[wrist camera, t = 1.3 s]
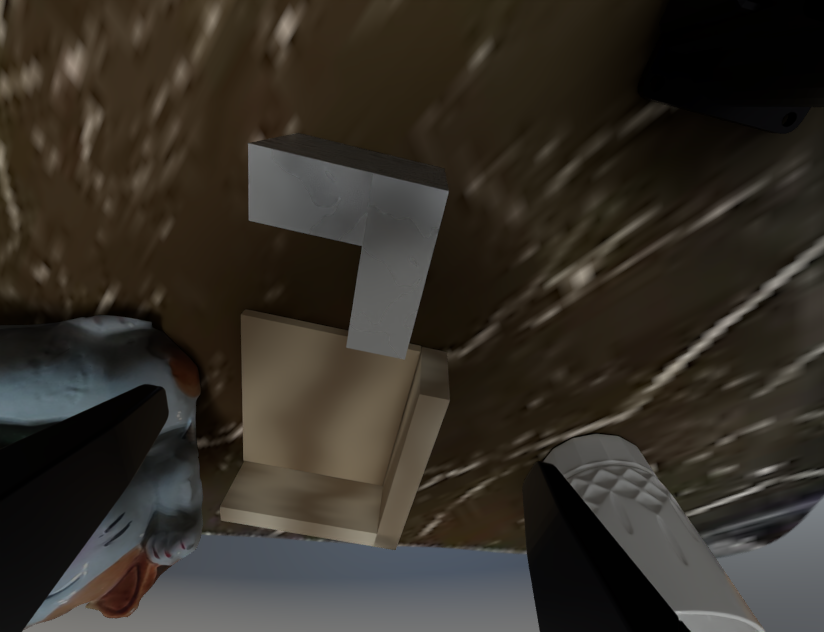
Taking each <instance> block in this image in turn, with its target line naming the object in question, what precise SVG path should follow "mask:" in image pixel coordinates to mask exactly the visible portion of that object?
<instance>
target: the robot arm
mask: <svg viewBox="0 0 824 632" xmlns="http://www.w3.org/2000/svg"><path fill="white" fill-rule="evenodd" d="M659 26H660V33H661V34H660V37H659V39H658V41H657V43H656V46H655V48H654V50H653V52H652V55H651V57H650V59H649V61H648V63H647V66H646V68H645V70H644V72H643V75H642V77H641V79H640V81H639V85H638V93H639V94H640V96H641V97H642V98H644V99H647V100H650V101H654V102H658V103H662V104H665V105H669V106H673V107H677V108H680V109H684V110H688V111H692V112H695V113H699V114H703V115H707V116H710V117H714V118H718V119H722V120H725V121H729V122H733V123H737V124H741V125H744V126H748V127H752V128H756V129H759V130H763V131H767V132H771V133H780V134H786V133H788V132H791V131H793V130H794V129H795V128H797V127H798V125H799V124H800V123H801V122H802V120H803V119H804V117H805V116H806V114H807V113H808V111H809V110H810V108H811V107H824V0H669V3H668V5H667V7H666V9H665V12H664V14H663V16H662V18H661V21H660V23H659ZM655 77H657V78H658V81H659V83H658V87H657V88H656V89H655V90H654V91H652V90H651V89H650V83H651V81H652V80H653V78H655ZM786 114H788V119H787V121H786V122H785V123H784V124H783V125H782V119H783V117H784V116H785V115H786ZM168 416H169V409H168V402H167V396H166V391H165V389H164V388H163V387H161V386H156V385H151V384H143V385H140V386H138V387H136V388H133V389H131V390H129V391H127V392H125V393H122V394H120V395H118V396H116V397H113V398H111V399H109V400H107V401H105V402H102V403H100V404H98V405H96V406H94V407H91V408H89V409H87V410H85V411H83V412H80V413H78V414H76V415H74V416H72V417H69V418H67V419H65V420H63V421H61V422H58V423H56V424H54V425H52V426H50V427H47V428H45V429H43V430H41V431H39V432H36V433H34V434H32V435H30V436H28V437H25V438H23V439H21V440H19V441H16V442H14V443H12V444H10V445H8V446H5V447H3V448H1V449H0V632H22V631H23V630H24V628H25V627H26V625H27V624H28V623H29V621H30V620H31V619H32V617H33V616H34V614H35V613H36V612H37V610H38V609H39V608H40V606H41V605H42V604H43V602H44V601H45V599H46V598H47V597H48V595H49V594H50V593H51V591H52V590H53V588H54V587H55V586H56V584H57V583H58V582H59V580H60V579H61V577H62V576H63V575H64V573H65V572H66V571H67V569H68V568H69V567H70V565H71V564H72V562H73V561H74V560H75V558H76V557H77V556H78V554H79V553H80V551H81V550H82V549H83V547H84V546H85V545H86V543H87V542H88V541H89V539H90V538H91V536H92V535H93V534H94V532H95V531H96V530H97V528H98V527H99V525H100V524H101V523H102V521H103V520H104V519H105V517H106V516H107V515H108V513H109V512H110V510H111V509H112V508H113V506H114V505H115V504H116V502H117V501H118V499H119V498H120V497H121V495H122V494H123V493H124V491H125V490H126V488H127V487H128V485H129V484H130V482H131V481H132V479H133V478H134V476H135V474H136V473H137V471H138V469H139V468H140V466H141V464H142V462H143V461H144V459H145V457H146V456H147V454H148V452H149V451H150V449H151V447H152V445H153V444H154V442H155V440H156V439H157V437H158V435H159V434H160V432H161V430H162V428H163V427H164V425H165V423H166V421H167V419H168ZM523 504H524V519H525V534H526V547H527V557H528V563H529V570H530V576H531V581H532V588H533V593H534V600H535V606H536V611H537V617H538V623H539V629H540V632H691V631H690V630H689V629H688V628H687V626H686V625H685V624H684V623H683V622H682V621H681V620H679V618H678V616H677V614H676V613H675V612H674V611H673V609H672V608H671V607H670V606H669V605H668V603H667V602H666V601H665V600H664V598H663V597H662V596H661V595H660V594H659V592H658V591H657V590H656V589H655V587H654V586H653V585H652V584H651V583H650V581H649V580H648V579H647V578H646V576H645V575H644V574H643V573H642V572H641V570H640V569H639V568H638V567H637V565H636V564H635V563H634V562H633V560H632V559H631V558H630V557H629V556H628V554H627V553H626V552H625V551H624V549H623V548H622V547H621V546H620V545H619V543H618V542H617V541H616V540H615V538H614V537H613V536H612V535H611V534H610V532H609V531H608V530H607V529H606V527H605V526H604V525H603V524H602V523H601V521H600V520H599V519H598V518H597V516H596V515H595V514H594V513H593V512H592V510H591V509H590V508H589V507H588V505H587V504H586V503H585V502H584V500H583V499H582V498H581V497H580V496H579V494H578V493H577V492H576V491H575V489H574V488H573V487H572V486H571V485H570V483H569V482H568V481H567V480H566V478H565V477H564V476H563V475H562V474H561V472H560V471H559V470H558V469H557V467H556V466H554V465H553V464H551V463H546V462H541V461H538V462H536V463H535V464H534V465H533V467H532V469H531V470H530V472H529V474H528V475H527V477H526V479H525V480H524V483H523Z"/></svg>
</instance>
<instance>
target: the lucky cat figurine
mask: <svg viewBox="0 0 824 632" xmlns="http://www.w3.org/2000/svg"><path fill="white" fill-rule="evenodd" d="M143 384H151V385H156V386H161V387H163V388H164V389H165V391H166V396H167V402H168V409H169V416H168V419H167V421H166V423H165V425H164V427H163V428H162V430H161V432H160V434H159V435H158V437H157V439H156V440H155V442H154V444H153V445H152V447H151V449H150V451H149V452H148V454H147V456H146V457H145V459H144V461H143V462H142V464H141V466H140V468H139V469H138V471H137V473H136V474H135V476H134V478H133V479H132V481H131V482H130V484H129V485H128V487H127V488H126V490H125V491H124V493H123V494H122V495H121V497H120V498H119V499H118V501H117V502H116V504H115V505H114V506H113V508H112V509H111V510H110V512H109V513H108V515H107V516H106V517H105V519H104V520H103V521H102V523H101V524H100V525H99V527H98V528H97V530H96V531H95V532H94V534H93V535H92V536H91V538H90V539H89V541H88V542H87V543H86V545H85V546H84V547H83V549H82V550H81V551H80V553H79V554H78V556H77V557H76V558H75V560H74V561H73V562H72V564H71V565H70V567H69V568H68V569H67V571H66V572H65V573H64V575H63V576H62V577H61V579H60V580H59V582H58V583H57V584H56V586H55V587H54V588H53V590H52V591H51V593H50V594H49V595H48V597H47V598H46V599H45V601H44V602H43V604H42V605H41V606H40V608H39V609H38V610H37V612H36V613H35V614H34V616H33V617H32V619H31V620H30V621H29V623H28V624H27V625H26V627H25V628H24V630H25V629H27V628H28V627H31V626H32V625H35V624H38V623H41V622H46V621H49V620H52V619H55V618H57V617H59V616H61V615H63V614H65V613H67V612H69V611H70V610H72V609H73V608H75V607H77V606H79V605H81V604H84V603H87V602H89V603H88V604H87V605H86V608H91V609H95V610H99V611H100V612H102V614H103V615H104V616H105V617H107V618H121V617H128V616H130V615H131V614H132V613H133V612H134V611H135V610H136V609H137V608H138V605H139V601H140V600H141V598H142V597H143V595H144V594H145V593H146V592H147V591H148V590H149V589H150V588H151V587H152V585H153V584H154V583H155V581H156V580H157V579H158V577H159V576H160V575H161V574H162V573H163V572H164V571H166V570H167V569H168V568H169V567H171V566H172V565H173V564H175V563H176V562H178V561H179V560H180V559H182V558H184V557H185V556H187V555H189V554H190V553H192V552H193V551H194V550H195V549H196V548H197V546H198V543H199V541H200V538H201V532H202V527H203V520H202V511H201V507H202V500H203V493H202V483H201V480H200V473H199V469H200V465H199V459H198V456H199V453H198V447H197V439H196V417H195V416H196V400H197V398H198V397H199V395H200V393H201V382H200V376H199V372H198V368H197V366H196V365H195V364H194V362H193V361H192V360H191V359H190V358H189V357H188V356H187V355H186V354H185V353H184V352H183V351H182V350H181V349H180V348H179V347H178V346H177V345H176V344H175V343H174V342H173V341H172V340H171V339H170V338H169V337H168V336H167V335H166V334H165V333H164V332H163V331H161V330H157V329H155V328H153V326H152V322H150V321H145V320H139V319H133V318H127V317H121V316H112V315H96V316H91V317H88V318H84V317H80V318H76V319H72V320H67V321H62V322H57V323H47V324H36V325H0V449H1V448H3V447H5V446H8V445H10V444H12V443H14V442H16V441H19V440H21V439H23V438H25V437H28V436H30V435H32V434H34V433H36V432H39V431H41V430H43V429H45V428H47V427H50V426H52V425H54V424H56V423H58V422H61V421H63V420H65V419H67V418H69V417H72V416H74V415H76V414H78V413H80V412H83V411H85V410H87V409H89V408H91V407H94V406H96V405H98V404H100V403H102V402H105V401H107V400H109V399H111V398H113V397H116V396H118V395H120V394H122V393H125V392H127V391H129V390H131V389H133V388H136V387H138V386H140V385H143Z"/></svg>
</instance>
